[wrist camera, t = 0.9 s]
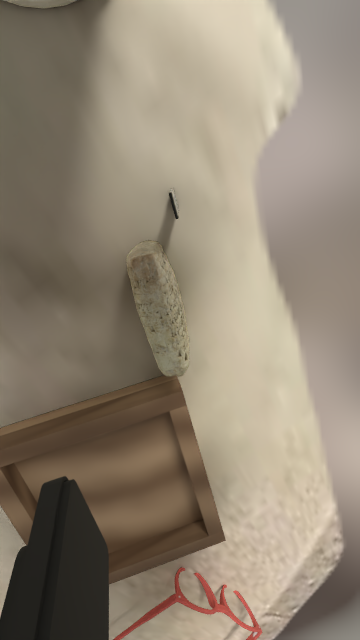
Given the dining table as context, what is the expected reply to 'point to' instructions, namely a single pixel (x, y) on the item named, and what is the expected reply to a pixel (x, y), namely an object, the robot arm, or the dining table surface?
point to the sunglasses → (198, 608)
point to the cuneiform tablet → (160, 304)
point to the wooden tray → (118, 473)
